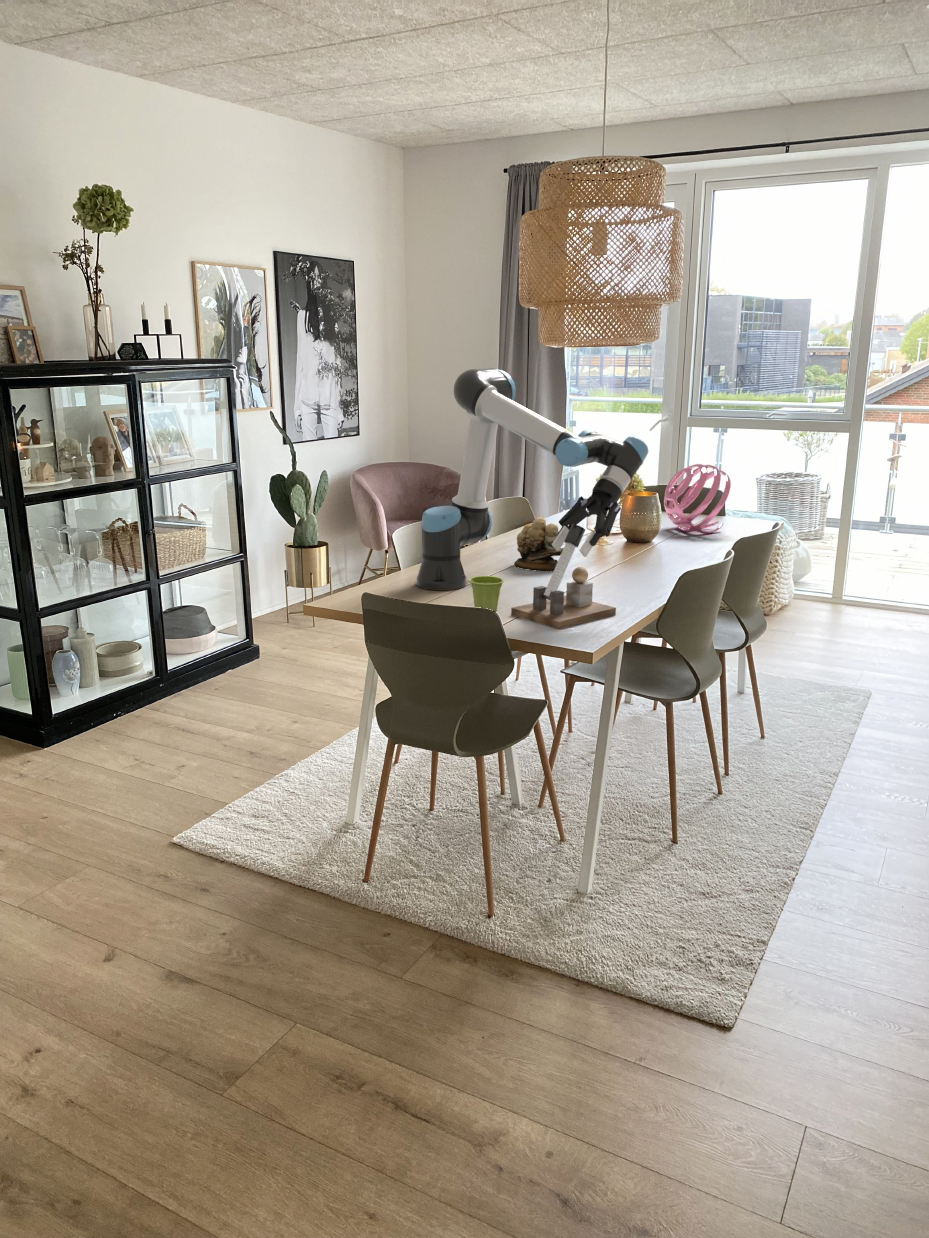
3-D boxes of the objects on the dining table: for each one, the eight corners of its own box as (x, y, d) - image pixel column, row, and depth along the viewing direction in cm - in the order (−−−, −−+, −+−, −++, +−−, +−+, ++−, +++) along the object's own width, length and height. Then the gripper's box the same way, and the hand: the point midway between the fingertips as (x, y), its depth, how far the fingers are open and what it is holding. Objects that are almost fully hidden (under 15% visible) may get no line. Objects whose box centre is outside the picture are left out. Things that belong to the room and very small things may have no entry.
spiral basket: (738, 478, 386) (689, 441, 377) (760, 504, 362) (709, 466, 353) (691, 529, 397) (643, 495, 387) (710, 558, 372) (660, 522, 363)
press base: (511, 614, 256) (511, 586, 254) (567, 601, 270) (568, 574, 268) (558, 629, 243) (559, 599, 241) (615, 614, 256) (617, 586, 254)
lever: (537, 595, 251) (568, 523, 253) (546, 600, 254) (577, 529, 256) (548, 597, 248) (579, 525, 250) (557, 603, 251) (588, 531, 253)
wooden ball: (568, 582, 258) (568, 566, 257) (579, 580, 261) (579, 564, 260) (580, 585, 255) (580, 569, 254) (591, 583, 258) (591, 567, 256)
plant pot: (502, 605, 265) (502, 575, 263) (504, 614, 256) (504, 583, 254) (468, 605, 265) (468, 575, 263) (469, 614, 256) (470, 583, 254)
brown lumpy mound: (571, 567, 314) (573, 516, 310) (556, 574, 305) (558, 522, 300) (523, 560, 323) (524, 511, 318) (507, 567, 313) (507, 516, 309)
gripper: (648, 500, 252) (606, 566, 246) (587, 490, 268) (546, 552, 263) (636, 481, 247) (593, 548, 242) (574, 473, 264) (532, 536, 258)
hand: (568, 550), depth 252 cm, fingers open, 9 cm apart
